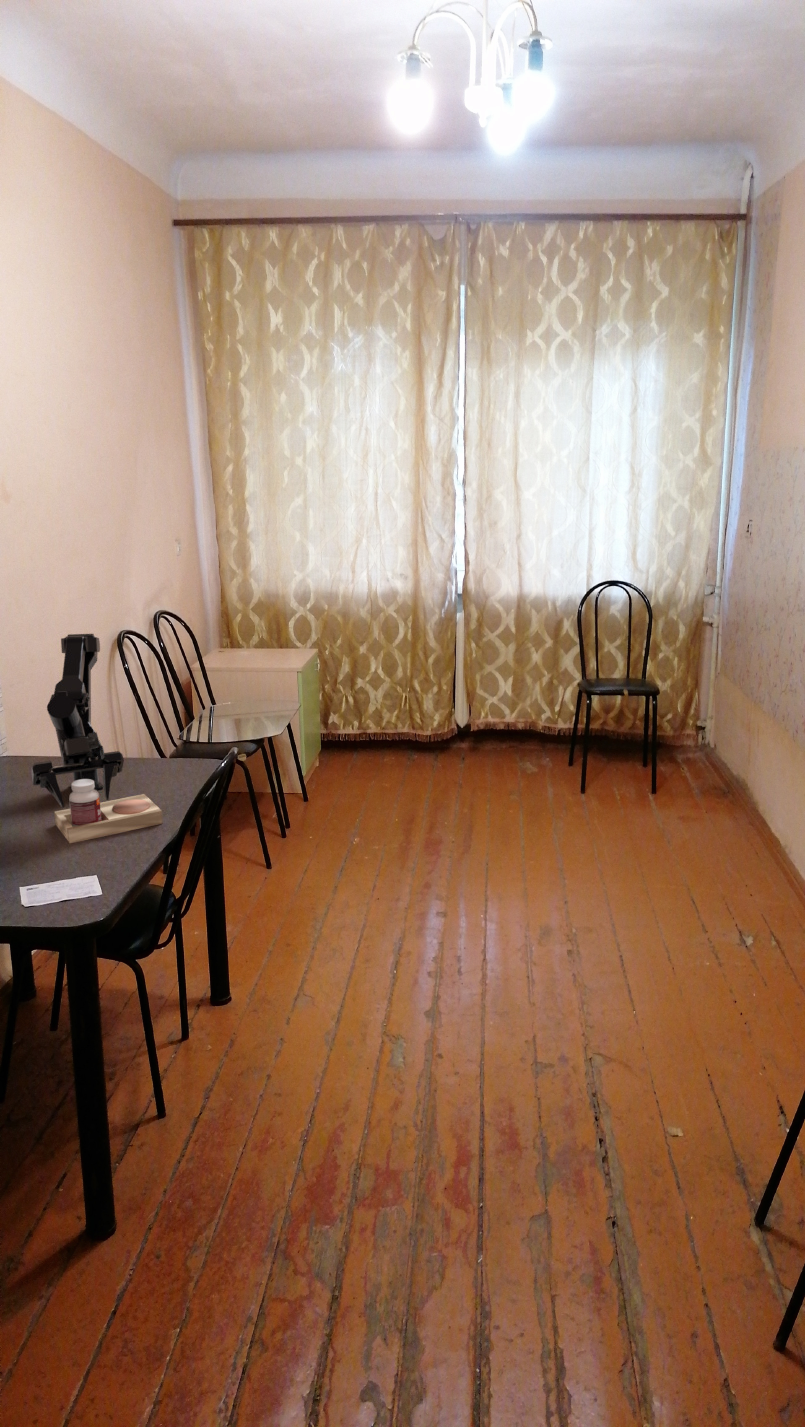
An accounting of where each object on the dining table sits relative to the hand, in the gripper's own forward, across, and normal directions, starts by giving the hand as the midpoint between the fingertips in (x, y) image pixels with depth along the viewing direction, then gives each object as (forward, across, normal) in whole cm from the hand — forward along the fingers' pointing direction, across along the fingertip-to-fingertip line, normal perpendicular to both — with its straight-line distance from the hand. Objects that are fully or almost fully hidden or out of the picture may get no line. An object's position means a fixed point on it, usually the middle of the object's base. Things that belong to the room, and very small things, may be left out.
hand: (85, 802), depth 204 cm
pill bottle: (+4, 0, +6) cm, 7 cm away
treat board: (+3, +5, +7) cm, 9 cm away
